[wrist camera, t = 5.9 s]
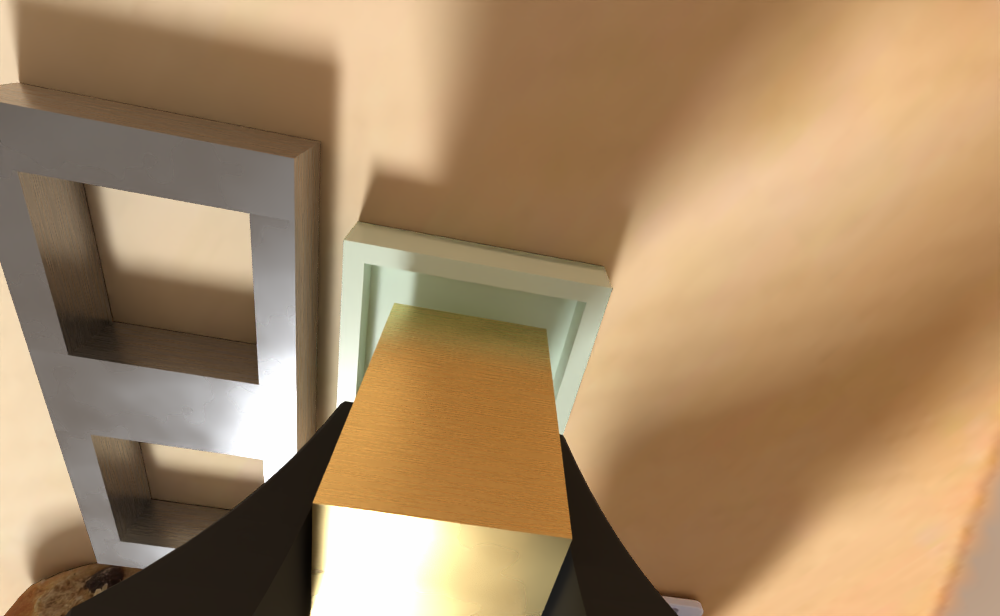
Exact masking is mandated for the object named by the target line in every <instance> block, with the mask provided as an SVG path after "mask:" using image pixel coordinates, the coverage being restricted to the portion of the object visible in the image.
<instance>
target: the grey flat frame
mask: <svg viewBox="0 0 1000 616" xmlns="http://www.w3.org/2000/svg"><path fill="white" fill-rule="evenodd" d="M83 183H85V184H91V185H96V186H102V187H107V188H113V189H118V190H124V191H129V192H135V193H140V194H146V195H151V196H157V197H162V198H168V199H173V200H179V201H184V202H190V203H195V204H201V205H206V206H212V207H217V208H223V209H228V210H234V211H239V212H245V213H250V229H251V247H252V265H253V283H254V302H255V320H256V338H257V345H255V344H249V343H243V342H237V341H230V340H224V339H218V338H212V337H206V336H200V335H193V334H187V333H181V332H175V331H169V330H162V329H156V328H150V327H144V326H138V325H132V324H125V323H119V322H113V320H112V315H111V311H110V306H109V301H108V297H107V292H106V288H105V283H104V278H103V274H102V269H101V265H100V260H99V255H98V251H97V246H96V241H95V237H94V232H93V228H92V223H91V218H90V214H89V209H88V205H87V200H86V195H85V191H84V186H83ZM319 200H320V142H319V141H314V140H309V139H304V138H299V137H294V136H289V135H283V134H278V133H273V132H268V131H263V130H258V129H253V128H248V127H242V126H237V125H232V124H227V123H222V122H217V121H212V120H207V119H201V118H196V117H191V116H186V115H181V114H176V113H171V112H165V111H160V110H155V109H150V108H145V107H140V106H135V105H130V104H124V103H119V102H114V101H109V100H104V99H99V98H94V97H89V96H83V95H78V94H73V93H68V92H63V91H58V90H53V89H47V88H42V87H37V86H32V85H27V84H22V83H11V84H3V85H0V263H1V266H2V269H3V272H4V275H5V278H6V281H7V284H8V287H9V290H10V294H11V297H12V300H13V303H14V306H15V309H16V312H17V315H18V318H19V321H20V324H21V328H22V331H23V334H24V337H25V340H26V343H27V346H28V349H29V352H30V355H31V359H32V362H33V365H34V368H35V371H36V374H37V377H38V380H39V383H40V386H41V389H42V393H43V396H44V399H45V402H46V405H47V408H48V411H49V414H50V417H51V420H52V423H53V427H54V430H55V433H56V436H57V439H58V442H59V445H60V448H61V451H62V454H63V458H64V461H65V464H66V467H67V470H68V473H69V476H70V479H71V482H72V485H73V488H74V492H75V495H76V498H77V501H78V504H79V507H80V510H81V513H82V516H83V519H84V522H85V526H86V529H87V532H88V535H89V538H90V541H91V544H92V547H93V550H94V553H95V557H96V560H97V563H99V564H107V565H115V566H123V567H131V568H139V569H144V568H146V567H147V566H149V565H150V564H152V563H154V562H155V561H157V560H158V559H160V558H162V557H163V556H165V555H166V554H168V553H170V552H171V551H173V550H174V549H176V548H178V547H179V546H181V545H183V544H184V543H186V542H187V541H189V540H190V539H192V538H193V537H195V536H196V535H197V534H199V533H200V532H202V531H203V530H205V529H206V528H207V527H209V526H210V525H212V524H213V523H214V522H216V521H217V520H218V519H220V518H221V517H223V516H224V515H225V514H227V513H228V512H229V511H231V510H225V509H218V508H211V507H203V506H196V505H189V504H181V503H174V502H166V501H159V500H152V499H151V495H150V490H149V486H148V481H147V476H146V472H145V467H144V463H143V458H142V453H141V449H140V444H139V442H145V443H152V444H159V445H166V446H173V447H180V448H187V449H194V450H201V451H208V452H215V453H222V454H228V455H235V456H242V457H249V458H256V459H263V466H264V483H265V482H266V481H267V480H268V479H269V478H270V477H271V476H273V475H274V474H275V473H276V472H277V471H278V470H279V469H280V468H281V467H282V466H283V465H285V464H286V463H287V462H288V461H289V460H290V459H291V458H292V457H293V456H294V455H295V454H296V453H297V452H298V451H299V450H300V449H301V448H302V447H303V446H304V445H305V444H306V443H307V442H308V441H309V440H310V439H311V438H312V436H313V435H314V434H315V433H316V389H317V326H318V263H319Z"/></svg>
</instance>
